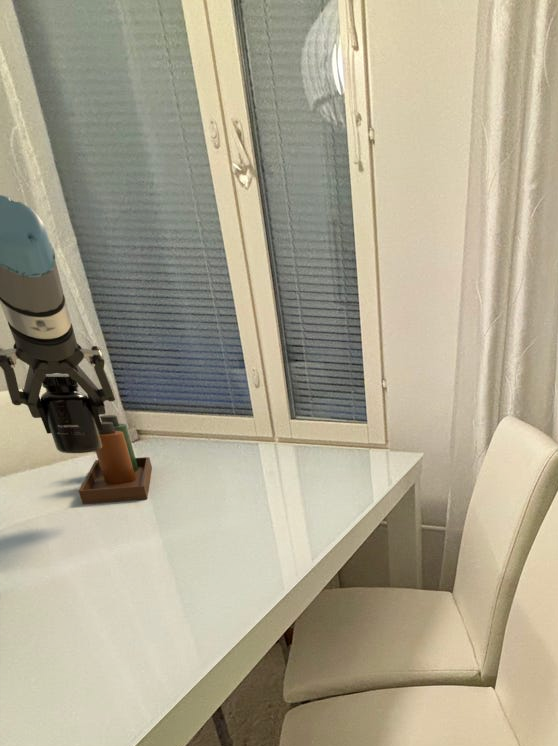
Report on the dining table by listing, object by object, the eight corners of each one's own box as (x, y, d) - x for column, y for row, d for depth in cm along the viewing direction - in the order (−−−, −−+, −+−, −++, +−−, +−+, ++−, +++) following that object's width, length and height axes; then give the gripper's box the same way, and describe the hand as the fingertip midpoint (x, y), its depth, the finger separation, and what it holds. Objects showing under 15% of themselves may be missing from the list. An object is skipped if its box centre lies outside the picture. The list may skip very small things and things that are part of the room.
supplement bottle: (69, 455, 93) (42, 377, 87) (50, 450, 96) (23, 374, 90) (111, 449, 98) (89, 375, 92) (92, 445, 101) (69, 372, 95)
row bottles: (103, 484, 118) (85, 425, 112) (110, 468, 130) (94, 414, 124) (135, 482, 120) (119, 424, 114) (139, 466, 133) (124, 413, 127)
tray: (82, 504, 107) (78, 491, 106) (98, 471, 130) (95, 460, 129) (147, 499, 112) (143, 486, 110) (152, 467, 134) (149, 457, 133)
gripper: (-45, 342, 72) (9, 448, 92) (126, 343, 82) (142, 438, 102) (-59, 295, 73) (-3, 410, 93) (112, 302, 83) (130, 404, 103)
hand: (73, 425), depth 97 cm, fingers closed on supplement bottle, 7 cm apart
